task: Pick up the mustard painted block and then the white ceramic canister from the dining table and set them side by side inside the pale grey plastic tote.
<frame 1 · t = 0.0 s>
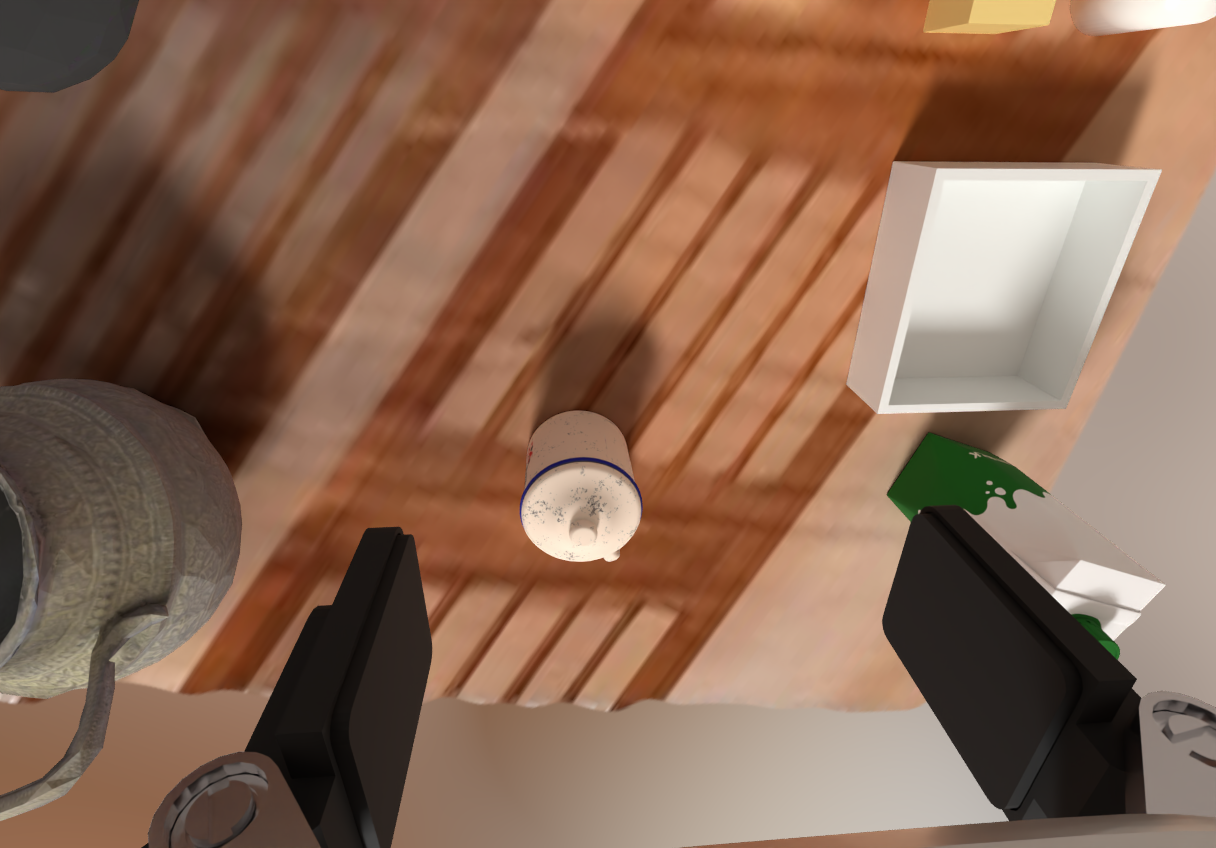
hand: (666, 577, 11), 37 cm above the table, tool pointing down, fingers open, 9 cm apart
tote: (961, 281, 48), on the table
pot: (156, 457, 50), on the table
teacup with lid: (583, 464, 53), on the table
milk carton: (936, 471, 57), on the table
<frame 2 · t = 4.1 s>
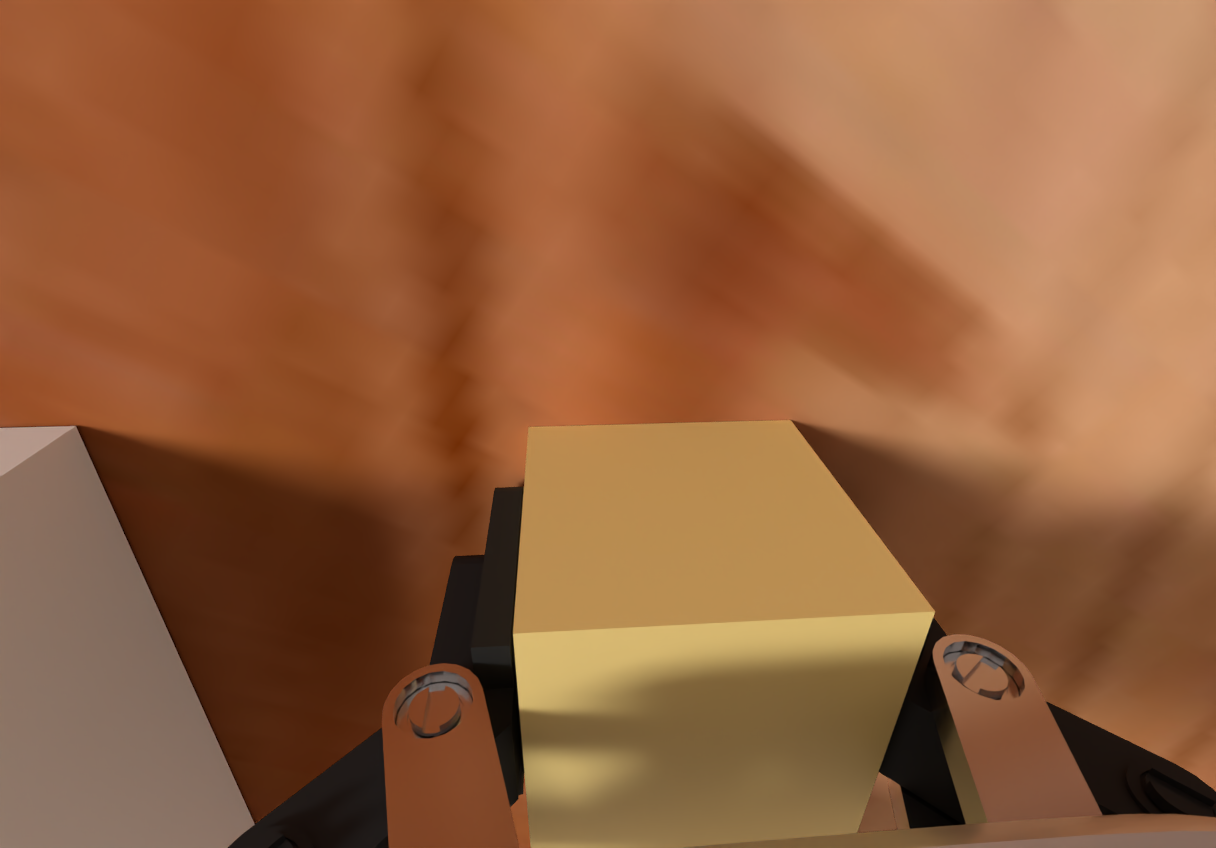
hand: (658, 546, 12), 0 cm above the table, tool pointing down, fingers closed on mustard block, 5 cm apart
mustard block: (655, 529, 13), on the table, touching gripper
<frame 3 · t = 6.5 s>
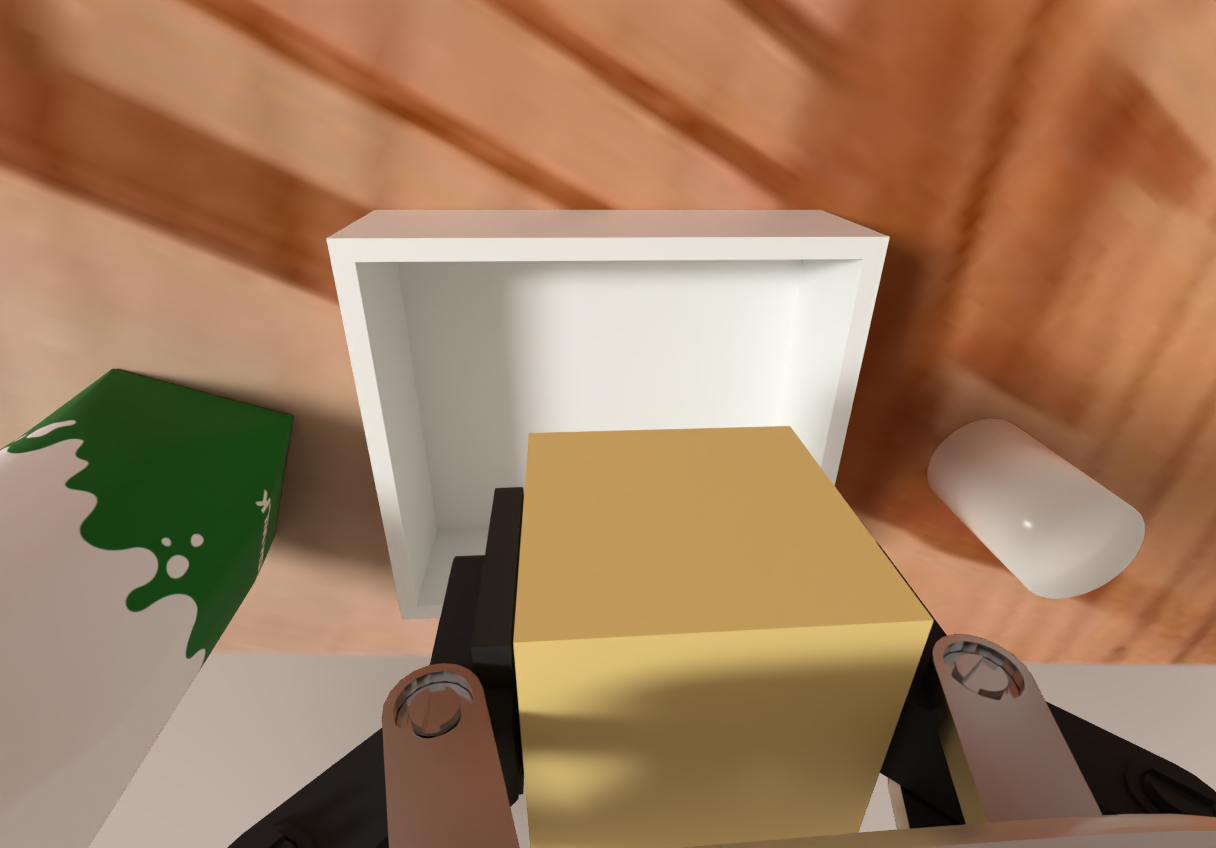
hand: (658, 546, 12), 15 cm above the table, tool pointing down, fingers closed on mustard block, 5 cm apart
tote: (602, 390, 27), on the table
mustard block: (655, 535, 13), point 15 cm above the table, touching gripper
white canister: (976, 462, 31), on the table
milk carton: (205, 457, 27), on the table
when the fingers open (3 cm above the table, at t = 9.0 s): mustard block drops 2 cm, resting on tote.
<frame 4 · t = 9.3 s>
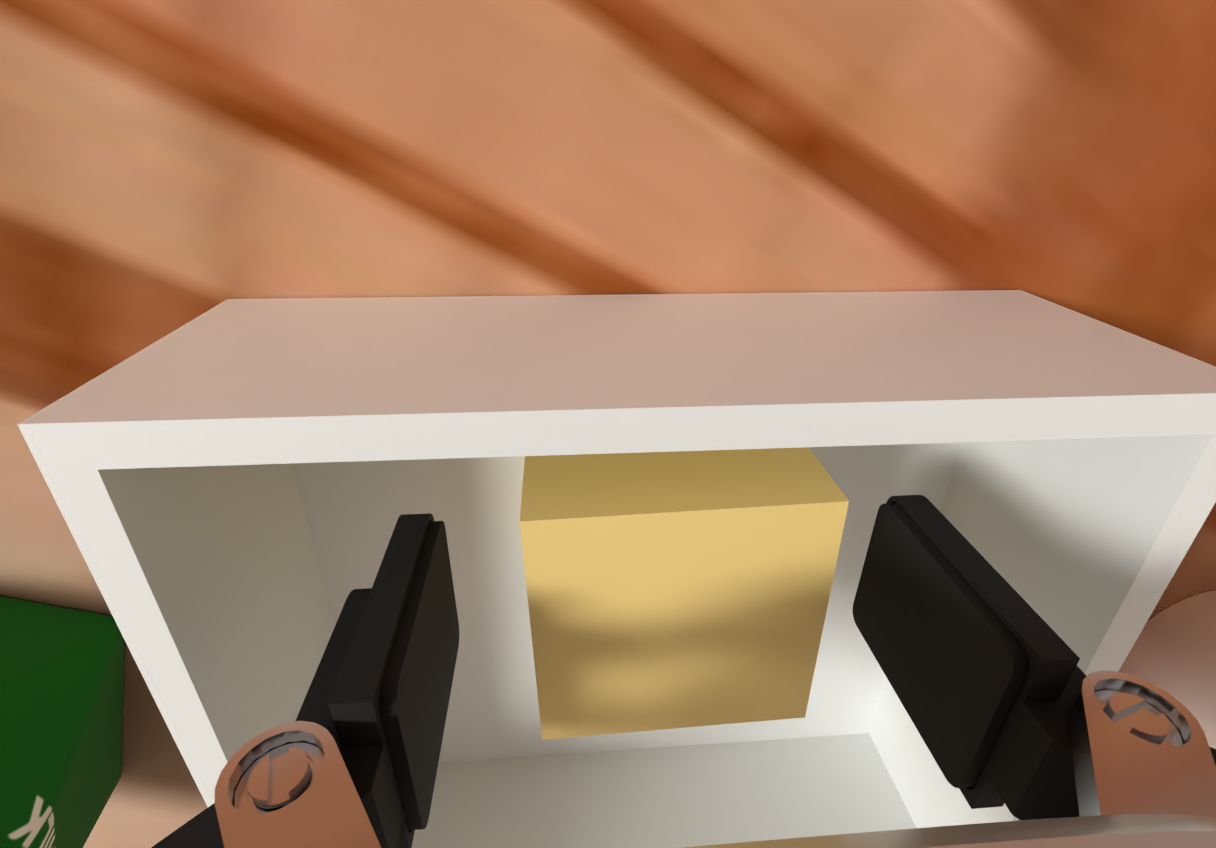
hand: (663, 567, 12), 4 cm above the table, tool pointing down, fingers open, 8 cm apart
tote: (633, 568, 17), on the table
mustard block: (642, 473, 15), point 1 cm above the table, touching tote
white canister: (1191, 645, 20), on the table
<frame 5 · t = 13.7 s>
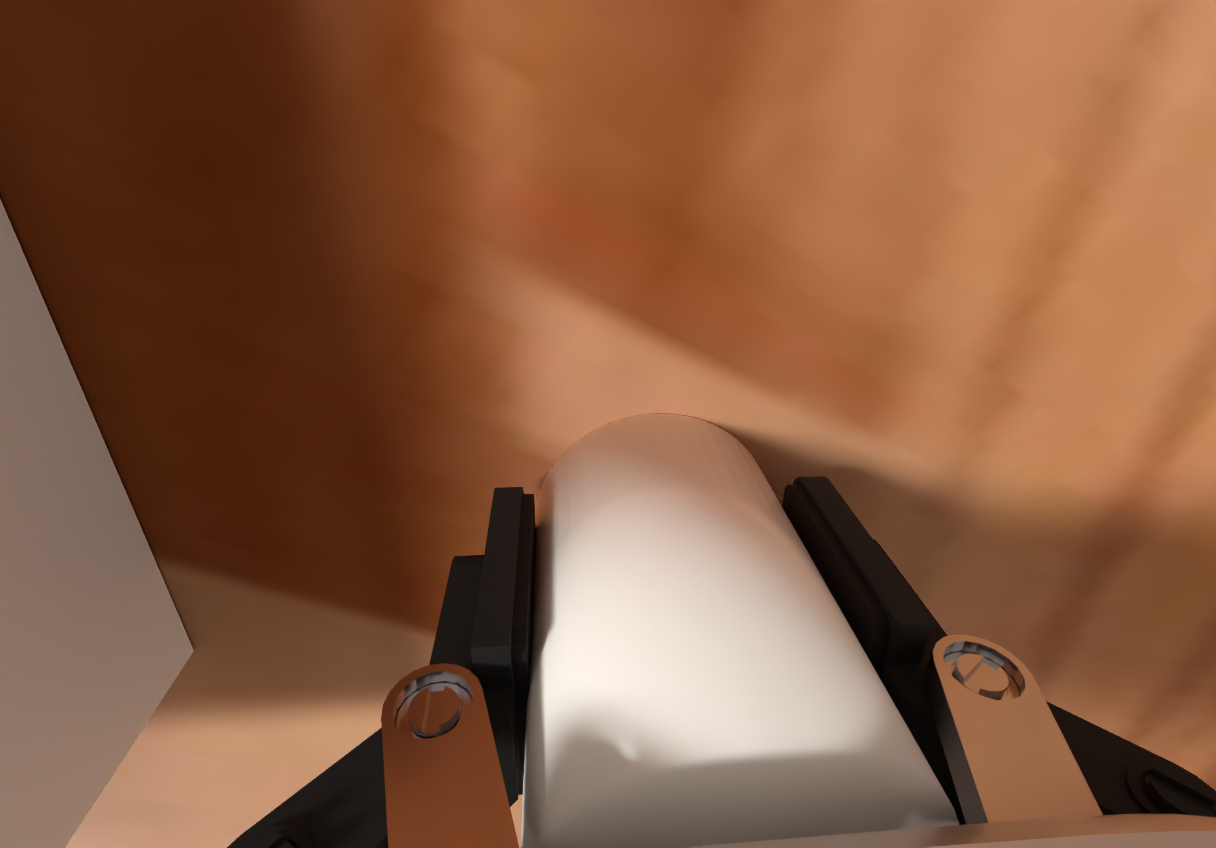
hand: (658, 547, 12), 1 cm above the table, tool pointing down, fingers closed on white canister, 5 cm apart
white canister: (651, 517, 13), on the table, touching gripper
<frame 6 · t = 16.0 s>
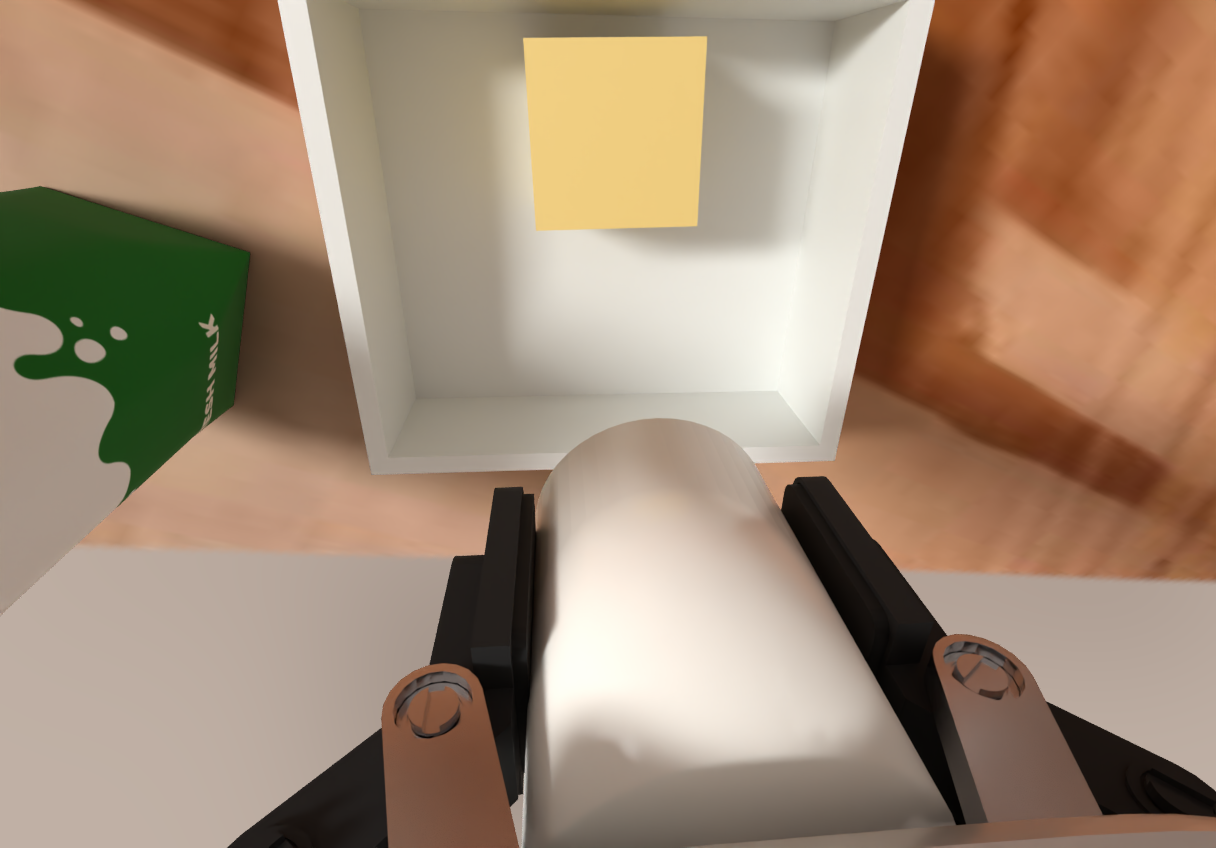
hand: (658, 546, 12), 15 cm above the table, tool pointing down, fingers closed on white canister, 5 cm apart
tote: (601, 228, 24), on the table
mustard block: (603, 132, 22), point 1 cm above the table, touching tote
white canister: (651, 521, 13), point 14 cm above the table, touching gripper
milk carton: (151, 304, 24), on the table
when the fingers open (3 cm above the table, at t = 18.6 s): white canister drops 2 cm, resting on tote.
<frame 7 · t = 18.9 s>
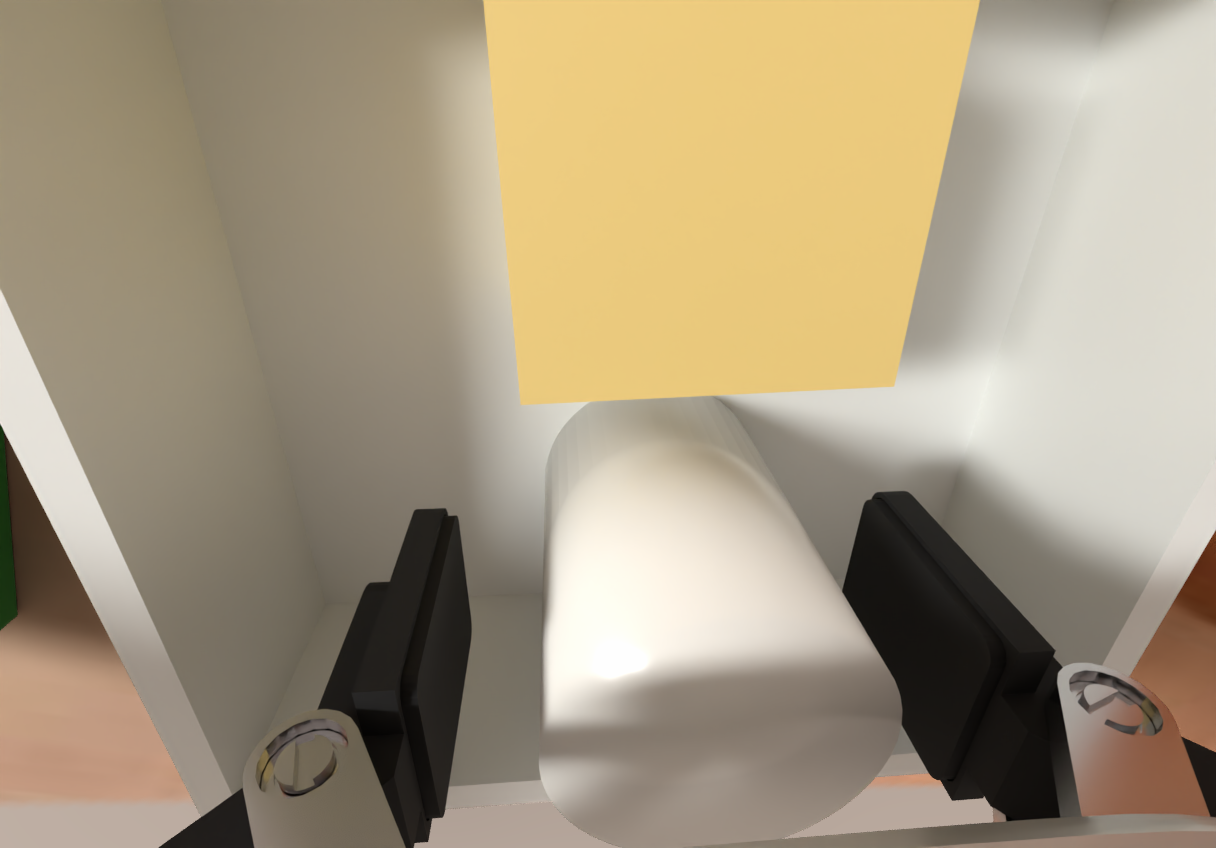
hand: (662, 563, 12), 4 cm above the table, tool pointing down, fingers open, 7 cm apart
tote: (644, 328, 13), on the table
mustard block: (657, 159, 11), point 1 cm above the table, touching tote
white canister: (650, 477, 15), point 1 cm above the table, touching tote
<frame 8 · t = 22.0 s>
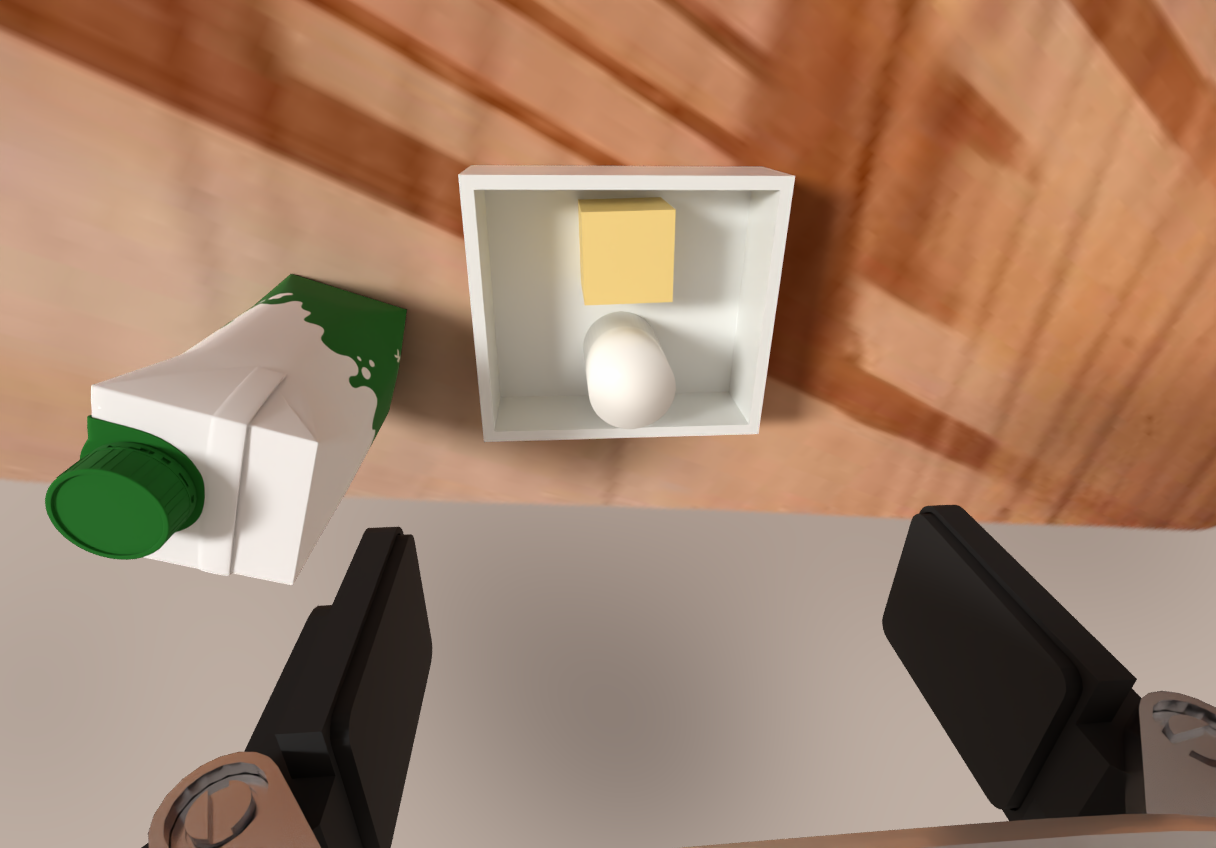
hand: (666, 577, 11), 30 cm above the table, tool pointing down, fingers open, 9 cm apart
tote: (617, 293, 40), on the table
mustard block: (619, 241, 38), point 1 cm above the table, touching tote
white canister: (620, 347, 41), point 1 cm above the table, touching tote
milk carton: (343, 340, 40), on the table
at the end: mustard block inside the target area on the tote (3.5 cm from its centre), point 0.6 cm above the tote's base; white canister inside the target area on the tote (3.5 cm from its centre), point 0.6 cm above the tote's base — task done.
